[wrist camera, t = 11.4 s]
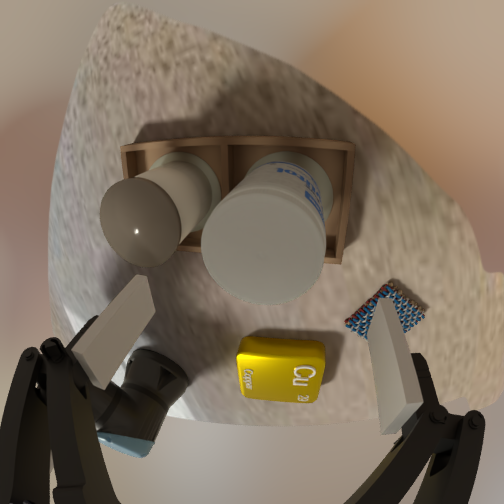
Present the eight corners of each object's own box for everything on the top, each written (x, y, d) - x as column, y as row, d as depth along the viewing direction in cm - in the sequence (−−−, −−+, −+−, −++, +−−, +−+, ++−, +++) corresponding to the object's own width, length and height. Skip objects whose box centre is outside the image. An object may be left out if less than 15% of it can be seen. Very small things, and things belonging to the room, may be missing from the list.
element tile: (239, 333, 46) (233, 353, 42) (326, 339, 43) (327, 360, 39) (245, 381, 53) (241, 399, 49) (316, 387, 50) (315, 406, 46)
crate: (145, 238, 40) (135, 246, 37) (132, 143, 33) (120, 146, 30) (338, 253, 35) (341, 264, 32) (350, 141, 28) (355, 144, 26)
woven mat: (382, 345, 42) (383, 354, 40) (341, 320, 41) (341, 328, 39) (426, 308, 37) (429, 316, 35) (387, 276, 36) (391, 284, 34)
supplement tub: (335, 184, 30) (356, 236, 17) (296, 246, 35) (288, 325, 22) (261, 145, 30) (226, 167, 17) (229, 212, 34) (183, 274, 22)
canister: (154, 225, 37) (110, 262, 28) (146, 160, 33) (93, 182, 23) (215, 228, 36) (183, 272, 26) (212, 157, 31) (171, 177, 22)
